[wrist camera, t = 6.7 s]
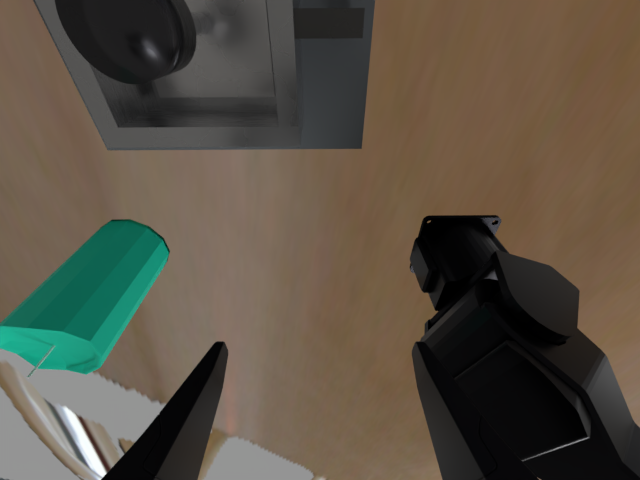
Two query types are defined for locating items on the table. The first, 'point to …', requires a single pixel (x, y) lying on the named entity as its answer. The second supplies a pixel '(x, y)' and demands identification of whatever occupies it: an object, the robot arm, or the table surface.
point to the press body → (209, 112)
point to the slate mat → (320, 86)
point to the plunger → (176, 44)
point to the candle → (87, 300)
